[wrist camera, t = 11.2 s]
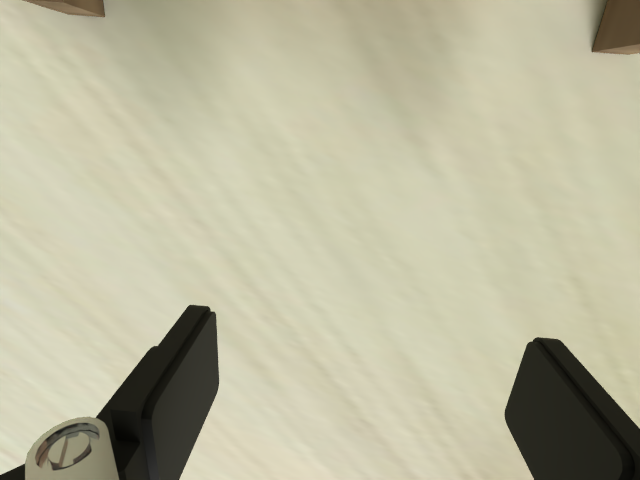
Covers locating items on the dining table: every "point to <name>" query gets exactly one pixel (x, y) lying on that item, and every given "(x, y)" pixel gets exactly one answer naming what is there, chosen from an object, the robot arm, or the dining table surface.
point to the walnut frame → (613, 37)
